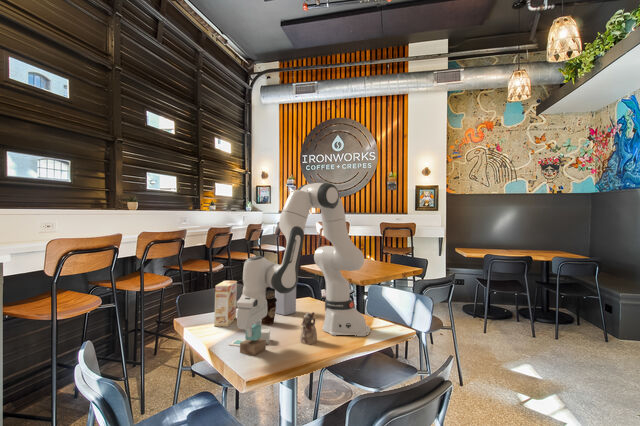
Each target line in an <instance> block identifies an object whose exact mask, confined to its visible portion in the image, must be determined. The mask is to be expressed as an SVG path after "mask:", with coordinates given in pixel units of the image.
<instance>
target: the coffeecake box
mask: <svg viewBox="0 0 640 426" xmlns="http://www.w3.org/2000/svg"><path fill="white" fill-rule="evenodd" d="M214 286H215V287H214V289H215V291H214V316H213V317H214V320H213V322H214V323H213V326H214V327H221V326H223V328H224V327H226V328H228V327H229V326H230V325H231V324H233V322H234V321H235V320H236V319H237V294H238V293H237V292H238V281H237V280H222V282H219V283H218V284H216V285H214ZM235 318H236V319H235ZM234 319H235V320H234Z"/></svg>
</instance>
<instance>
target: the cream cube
mask: <svg viewBox="0 0 640 426" xmlns="http://www.w3.org/2000/svg"><path fill="white" fill-rule="evenodd" d="M259 339H263V340H266V344H269V343H270V340H271V329H270V328H261V337H260V338H259Z"/></svg>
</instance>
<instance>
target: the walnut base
mask: <svg viewBox="0 0 640 426" xmlns="http://www.w3.org/2000/svg"><path fill="white" fill-rule="evenodd" d="M244 340H245V339H244ZM266 344H267V343H266V340H263V339H258V340H256V341H255V340H245V341H243V342H241V343H240V346H239V353H240V354H245V355H248V356H249V355H250V356H253V357H256V356H257V355H259V354H261V353H263V352H264V351H266V348H267V345H266Z"/></svg>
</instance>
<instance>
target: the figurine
mask: <svg viewBox="0 0 640 426" xmlns="http://www.w3.org/2000/svg"><path fill="white" fill-rule="evenodd" d="M315 314H316V313H315V312H313V311H312V313H310V312H307V313H305V314H304V315H303V319H302V323H300V325H301V327H302V328H301V333H300V337H299V339H300V340H299V343H301V344H303V345H315V344H316V343H317V340H318V332H317V328H316V318H315V317H314V316H315Z"/></svg>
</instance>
